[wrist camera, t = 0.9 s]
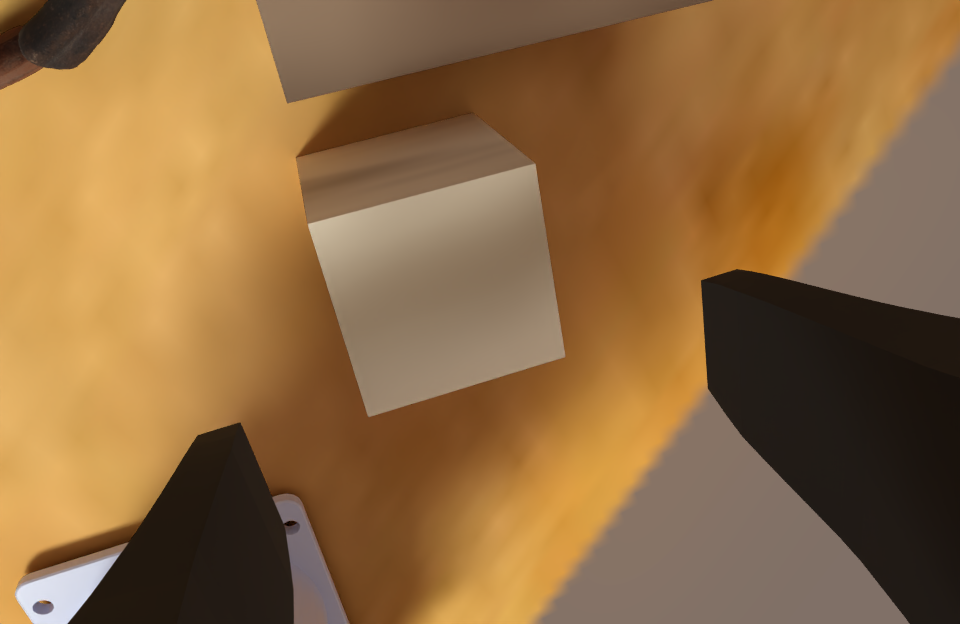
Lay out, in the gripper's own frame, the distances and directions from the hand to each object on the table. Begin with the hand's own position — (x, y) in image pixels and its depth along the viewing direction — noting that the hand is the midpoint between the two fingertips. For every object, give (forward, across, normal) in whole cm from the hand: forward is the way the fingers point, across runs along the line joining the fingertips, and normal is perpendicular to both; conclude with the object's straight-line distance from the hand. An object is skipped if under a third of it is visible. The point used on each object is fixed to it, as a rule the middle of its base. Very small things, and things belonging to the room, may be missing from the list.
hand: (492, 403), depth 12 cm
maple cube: (+10, 0, 0) cm, 10 cm away
